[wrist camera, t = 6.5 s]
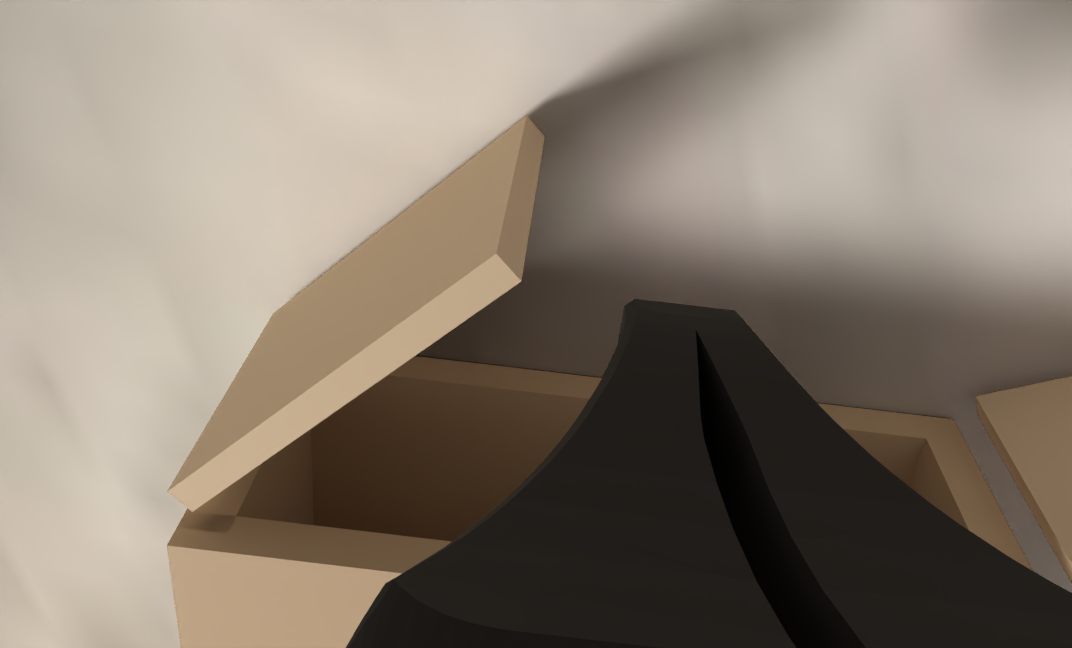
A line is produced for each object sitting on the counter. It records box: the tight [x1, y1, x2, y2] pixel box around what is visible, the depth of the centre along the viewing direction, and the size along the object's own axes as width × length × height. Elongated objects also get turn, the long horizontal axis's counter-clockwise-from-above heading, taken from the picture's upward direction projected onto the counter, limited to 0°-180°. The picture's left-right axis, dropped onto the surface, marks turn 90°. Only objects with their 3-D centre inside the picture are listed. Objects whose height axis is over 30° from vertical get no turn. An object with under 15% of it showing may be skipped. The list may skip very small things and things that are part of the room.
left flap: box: [167, 116, 545, 512], centre depth 16 cm, size 7×1×5 cm, turn 129°
